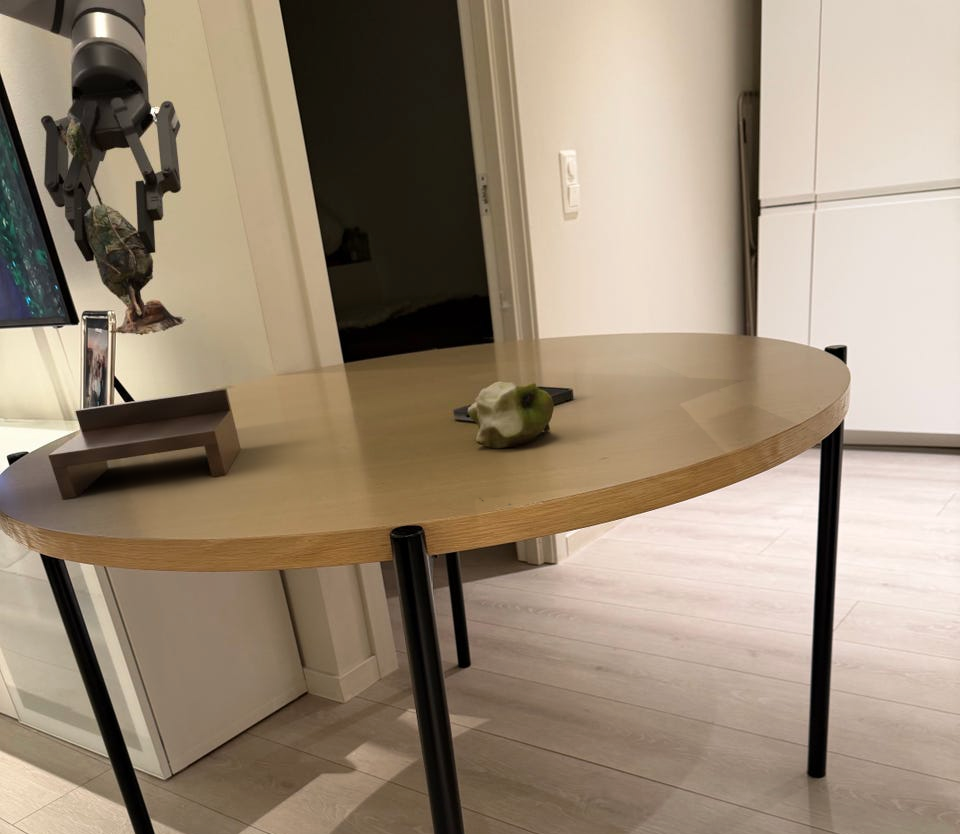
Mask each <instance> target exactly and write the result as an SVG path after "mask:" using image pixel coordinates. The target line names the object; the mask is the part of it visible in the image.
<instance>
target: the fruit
mask: <svg viewBox="0 0 960 834" xmlns="http://www.w3.org/2000/svg"><path fill="white" fill-rule="evenodd" d="M537 387H538V386H537V384H536V383H535V382H531V383H529V384H526V385H525V386H524V385H516V384H515V383H514V382H512V381H511V382H504V381H499V380H498V381H496V382H494V383H492V384H490V385H489V386H487V387H485V388H482V389H481V390H480V392H479V393H478V395H477V397H475V399H474V400H475V402H473V403H471V404H472V405H471V404H470V405H471V406H470V407H469V408H468V413H469V415H470V418H471V420H474V421H475V422H474V423H476V424H477V426H478V427H477V428H478V432H477V435H476V437H475V441H476V443H477V444H478V445H481V446H485V447H487V448H489V449H495V448H496V449H503V448H509V447H511V448H515V446H516V447H519V446H522V445H525V444H528V443H531V442H533V441H534V439H535V438H536V437H537V436H539V434H540V433H542V432H543V431H544V433H545V432H549V431H550V430H551V427H550V422H551V419H552V418H553V413H554V408H555V405H554V404H553V401H552V398H551V396H550V395H549V394H548V393H547V392H546V391H544V390H540V389H538V388H537Z"/></svg>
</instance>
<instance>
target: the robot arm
mask: <svg viewBox="0 0 960 834" xmlns="http://www.w3.org/2000/svg"><path fill="white" fill-rule="evenodd" d="M146 11H147V10H146V5H145V1H144V0H0V15H2V16H4V17H5V16H6V17H8V18H11V19H14V20H16V21H19V22H23V23H25V24H27V25H30V26H33V27H37V28H39V29H42V30H44V31H47V32H49V33H52V34H55V35H58V36H61V37H63V38H66V39H69V40H70V46H71V47H70V66H71V71H70V72H71V73H70V78H71V79H70V82H71V84H70V86H71V87H70V88H71V89H70V90H71V101H72V103H71V106H70V107H69V109H68V110H67V116H65V117H63V118H60V119H57V120H54V118H53V116H51V115H49V114H48V115H44V116H42V117H41V119H40V122H41V125H42V127H43V129H44V131H45V149H44V150H45V151H44V154H45V156H44V175H43V178H44V179H43V185H44V187H45V189H46V192H47V193H48V194H49V197H50V199H51V200H52V201H53V203H54V205H55V207H57V208H63V207H64V217H65V219H66V221H67V223H68V224H69V226H70V228H71V230H72V231H73V236H74V237H73V239H74V242H75V244H76V246H77V248H78V250H79V251H80V253H81V255H82V256H83V259H84V260H85V262H87V263H88V262H93V261H95V257H94V253H93V251H92V248H91V247H90V245H89V242H88V239H87V235H86V234H87V233H86V230H85V216H84V215H85V214H86V213H87V211H88V210H90V209H91V208H92V207H93V206H92V205H91V203H90V201H89V199H88V198H89V195H90V193H91V190H92V188H93V187H92V183H91V181H90V178H89V175H88V173H87V171H86V168H85V166H84V164H83V162H82V161H79V160H77V159H75V158H74V156H73V155H72V158H71V161H70V164H69V159H70V157H69V156H70V155H69V148H68V146H67V140H66V135H67V130H68V126H69V124H70V123H71V119H72V118H74V119H76V120H79V121H81V122H82V124H83V126H84V127H85V129H86V132H87V137H88V141H89V143H90V147H91V151H92V159H91V161H88V162H87V163H88V164H89V168H90V170H91V173H90V174H91V175H92V179H93V181H94V180H95V178H96V176H97V175H96V174H97V171H98V169H99V165H100V162H104V160H105V157H106V155H107V152H108V151H111V150H114V149H129V148H130V151H131V153H132V156H133V157H134V160H135V162H136V165H137V167H138V169H139V171H140V174H141V177H142V179H143V180H142V179H141V180H135V200H136V224H137V225H136V226H137V227H136V228H137V231H138V234H139V236H140V238H141V240H142V242H143V244H144V247H145V249H146V251H147V253H150V254H154V253H156V237H155V222H157V221H162V220H163V217H164V204H163V203H164V202H163V201H164V200H163V198H164V195H165V194H166V193H168V192H170V193H172V194H176V193H180V191H181V190H182V182H181V175H180V174H181V173H180V164H179V155H178V144H177V137H178V134H179V131H180V129H181V123H180V120H179V118H178V114H177V111H176V109H175V106H174V104H173V101H170V100H165V101H163V102H162V103H161V104H160V106H152V105H151V102H150V95H149V81H148V59H147V58H148V57H147V48H146V21H145V19H146V13H147V12H146ZM153 123H154V124H155V127H156V130H157V141H158V151H159V153H158V154H159V162H160V171H158V172H156V173H155V170H154V168H153V165H152V163H151V161H150V159H149V157H148V155H147V152H146V150H145V147H144V146H143V143H142V141H141V137H143V135H144V134H145V133H146V132H147V130H148V129H149V128H150V127H151V126H152V125H153ZM94 182H95V181H94ZM80 207H81V209H78V208H80Z"/></svg>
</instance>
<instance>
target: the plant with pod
mask: <svg viewBox="0 0 960 834" xmlns="http://www.w3.org/2000/svg"><path fill="white" fill-rule="evenodd" d="M66 140H67V148H68V152H70V154H71V156H72V157H73V156H74V158H75V159H77V160H79V161H82V162H83V164H84V166H85V168H86V171H87V173H88V175H89V178H90V181H91V183H92V187H91V188H92V189H94V192H95V195H96V197H97V200H98V203H99V204H96V205H93V206H91V207H92V208H91V209H90V210H88V211H87V213H86V214H85V215H84V216H85V230H86V233H87V234H86V235H87V239H88V242H89V245H90V247H91V248H92V251H93V253H94V261H95V263H96V265H97V269H98V273H99V276H100V279H101V282H102V284H103V285H104V286H105V287H106V288H107V289H108V290H109V291H110V293H112V294H113V295H114V296H115V297H117V298H118V299H119V300H120V301H121V302H122V304H124V305H125V307H127V308H126V309H125V311H124V314H125V315H124V319H123V322H122V324H121V325H120V326H117V327H116V328H114V329H113V330H109V333H111V334H117V333H118V334H124V335H125V334H132V335H133V334H135V335H140V336H142V335H149V334H150V333H151V332H152V333H153V334H155V333H158V332H161V331H162V332H165V331H166V330H168V329H171V328H174V327H176V326H179V325H183V324H184V322H185V321H186V318H184V319H183V317H182V316H181V315H180V316H175V315H173V314H171V313H170V311H168V309H167V308H166V307H165V305H164V304H163V303H162V302H161V301H160V300H158V299H150V300H148V301H147V302H144V300H143V298H142V295H141V293H142V292H141V291H142V290H143V289H144V287H146V286H147V285H148V284H149V282H150V281H151V280H153V279H154V276H153V275H154V274H153V272H154V260H153V255H152V253H147V251H146V249H145V247H144V244H143V242H142V240H141V238H140V236H139V234H138V229H137V227H135V226H133V224H132V223H131V222H130V221H128V220H127V218H125V216H123V214H121V212H119V211H118V210H116V209H114V208H113V207H111V206H109V205H106V204H105V203H103V202H102V197H101V195H100V193H99V191H98V188H97V187H96V185H95V181H93V179H92V175H91V174H90V173H91V170H90V168H89V164H88V163H87V162H88V161H91V159H92V151H91V147H90V143H89V141H88V137H87V132H86V129H85V127H84V126H83V124H82V122H81V121H79V120H76V119H74V118H72V119H71V123H70V124H69V126H68V130H67V135H66ZM78 209H81V207H80V208H78Z"/></svg>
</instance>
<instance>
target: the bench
mask: <svg viewBox="0 0 960 834" xmlns="http://www.w3.org/2000/svg"><path fill="white" fill-rule="evenodd" d="M232 410H233V409H232V406H231V401H230V397H229V394H228V389H227V387H224V388H217V389H210V390H204V391H203V390H202V391H196V392H189V393H183V394H174V395H169V396H161V397H155V398H148V399H141V400H133V401H128V402H127V401H126V402H120V403H113V404H106V405H100V406H99V405H97V406H93V407H92V406H91V407H85V408H78V409H76V410H75V411H74V412H75V415H76V418H77V421H78V425H79V428H80V431H81V432H79V433H78V434H76V435H75V436H74V437H72V438H71V439H69V440H68V441H67V442H65V443H64V444H62V445H61V446H59V447H58V448H56V449H55V450H54V451H52V452H51V453H50V454H49V453H48V460H49V462H50V465H51V468H52V471H53V474H54V477H55V480H56V483H57V486H58V489H59V493H60V495H61V499H62V500H70V499H76V498H77V497H79V496H80V495H81V494H82V493H83V492H84V491H85V490H86V489H88V487H90V486H91V485H92V484H93V483H94V482H95V481H96V480H98V478H99V477H101V476H102V474H104V473H105V472H106V471H107V470H108V469H109V464H108V461H113V460H120V459H121V460H122V459H127V458H134V457H142V456H148V455H155V454H162V453H169V452H174V451H181V450H188V449H195V448H203V447H204V450H205V454H206V459H207V462H208V466H209V470H210V474H211V477H212V478H216V477H223V476H226V475H227V473H228V471H229V469H230V468H231V466H232V464H233V463H234V461H235V459H236V457H237V455H238V453H239V452H240V451H241V444H240V443H241V442H240V440H239V435H238V431H237V427H236V423H235V418H234V414H233V411H232Z"/></svg>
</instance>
